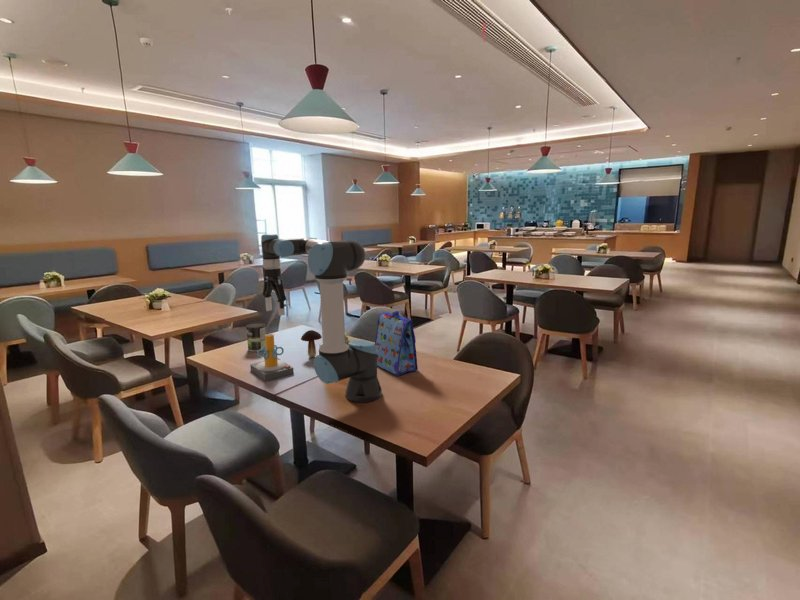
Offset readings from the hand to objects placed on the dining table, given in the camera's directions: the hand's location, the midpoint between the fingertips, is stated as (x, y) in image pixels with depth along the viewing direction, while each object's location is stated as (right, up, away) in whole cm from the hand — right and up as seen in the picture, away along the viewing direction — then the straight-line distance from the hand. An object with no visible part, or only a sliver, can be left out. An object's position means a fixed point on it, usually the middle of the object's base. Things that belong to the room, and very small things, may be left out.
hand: (275, 312), depth 188 cm
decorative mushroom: (+12, -25, +26) cm, 38 cm away
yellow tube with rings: (-3, -25, +5) cm, 26 cm away
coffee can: (-23, -22, +39) cm, 51 cm away
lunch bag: (+56, -28, +11) cm, 63 cm away
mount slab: (-3, -29, +5) cm, 30 cm away
